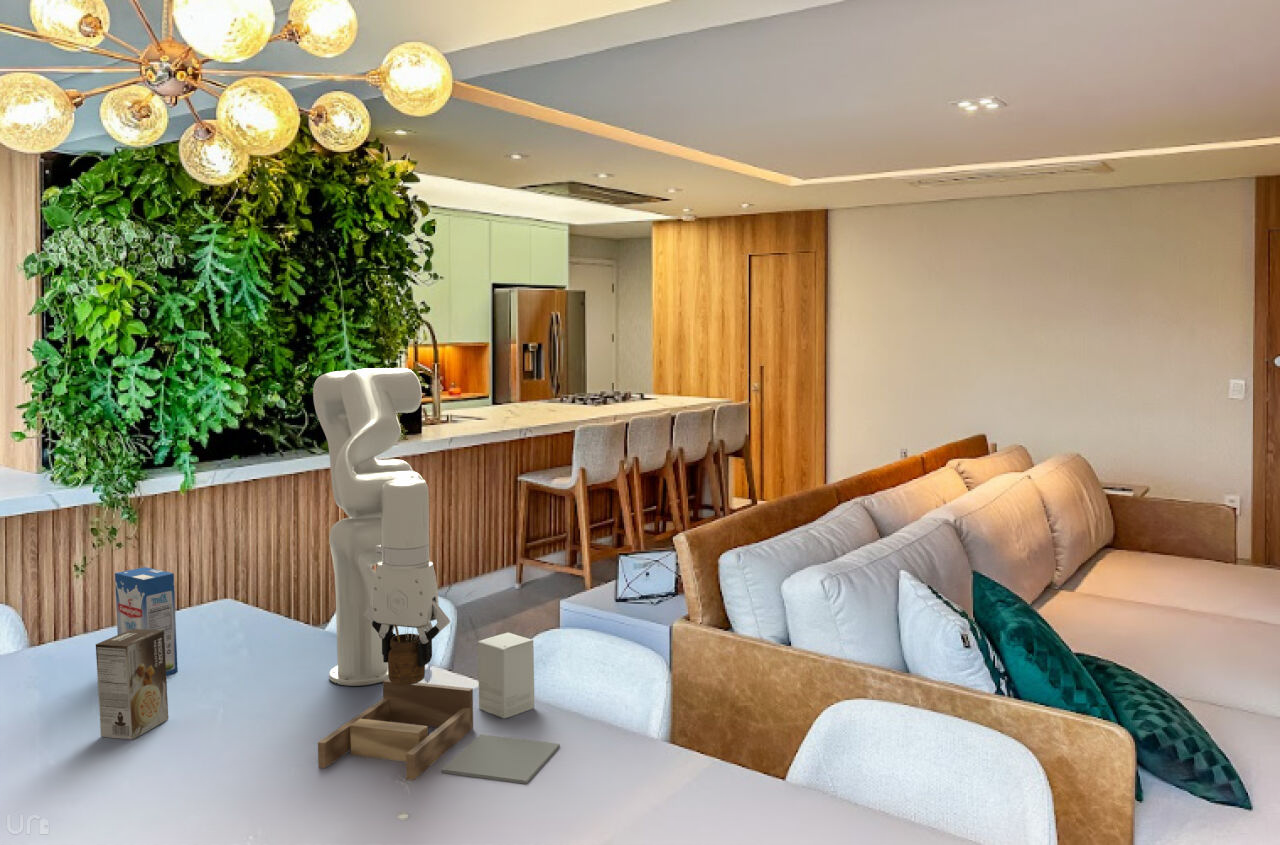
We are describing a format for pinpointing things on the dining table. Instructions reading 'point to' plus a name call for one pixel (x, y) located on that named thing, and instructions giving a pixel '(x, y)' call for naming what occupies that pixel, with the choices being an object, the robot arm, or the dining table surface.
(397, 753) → the oak offcut block
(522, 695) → the supplement box
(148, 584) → the milk carton
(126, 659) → the coffee box
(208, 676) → the dining table surface
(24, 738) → the dining table surface
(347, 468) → the robot arm
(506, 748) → the slate mat
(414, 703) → the walnut u-shaped frame
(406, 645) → the utensil holder
